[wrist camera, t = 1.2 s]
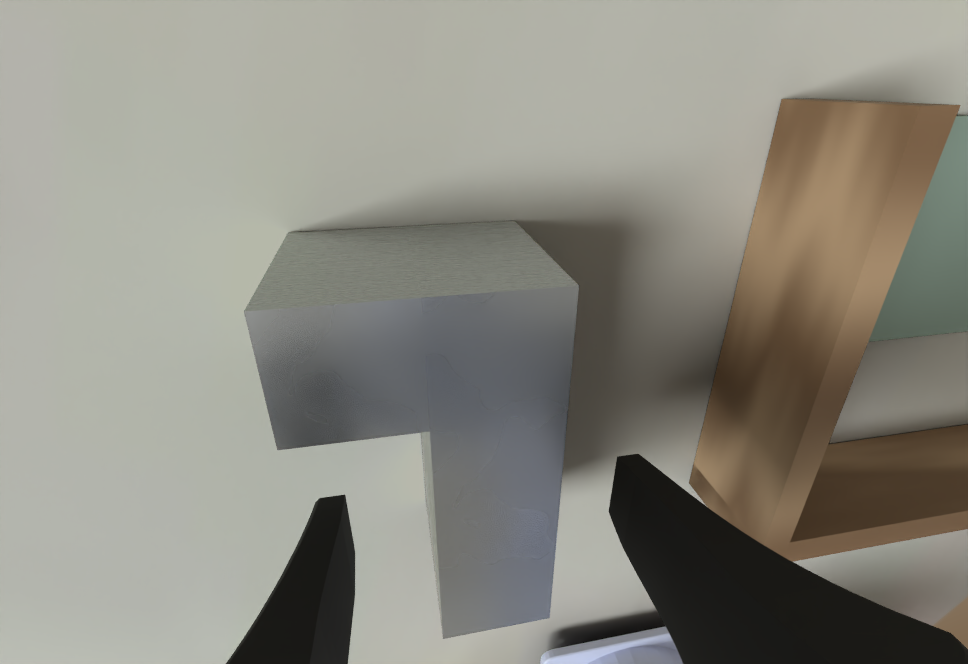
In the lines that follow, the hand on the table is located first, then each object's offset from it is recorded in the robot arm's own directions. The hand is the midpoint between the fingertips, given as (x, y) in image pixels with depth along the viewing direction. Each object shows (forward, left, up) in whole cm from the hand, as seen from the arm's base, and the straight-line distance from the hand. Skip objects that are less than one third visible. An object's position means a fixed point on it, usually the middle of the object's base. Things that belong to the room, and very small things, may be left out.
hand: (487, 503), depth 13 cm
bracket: (+1, 0, -4) cm, 4 cm away
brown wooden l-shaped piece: (+2, -17, -4) cm, 18 cm away
